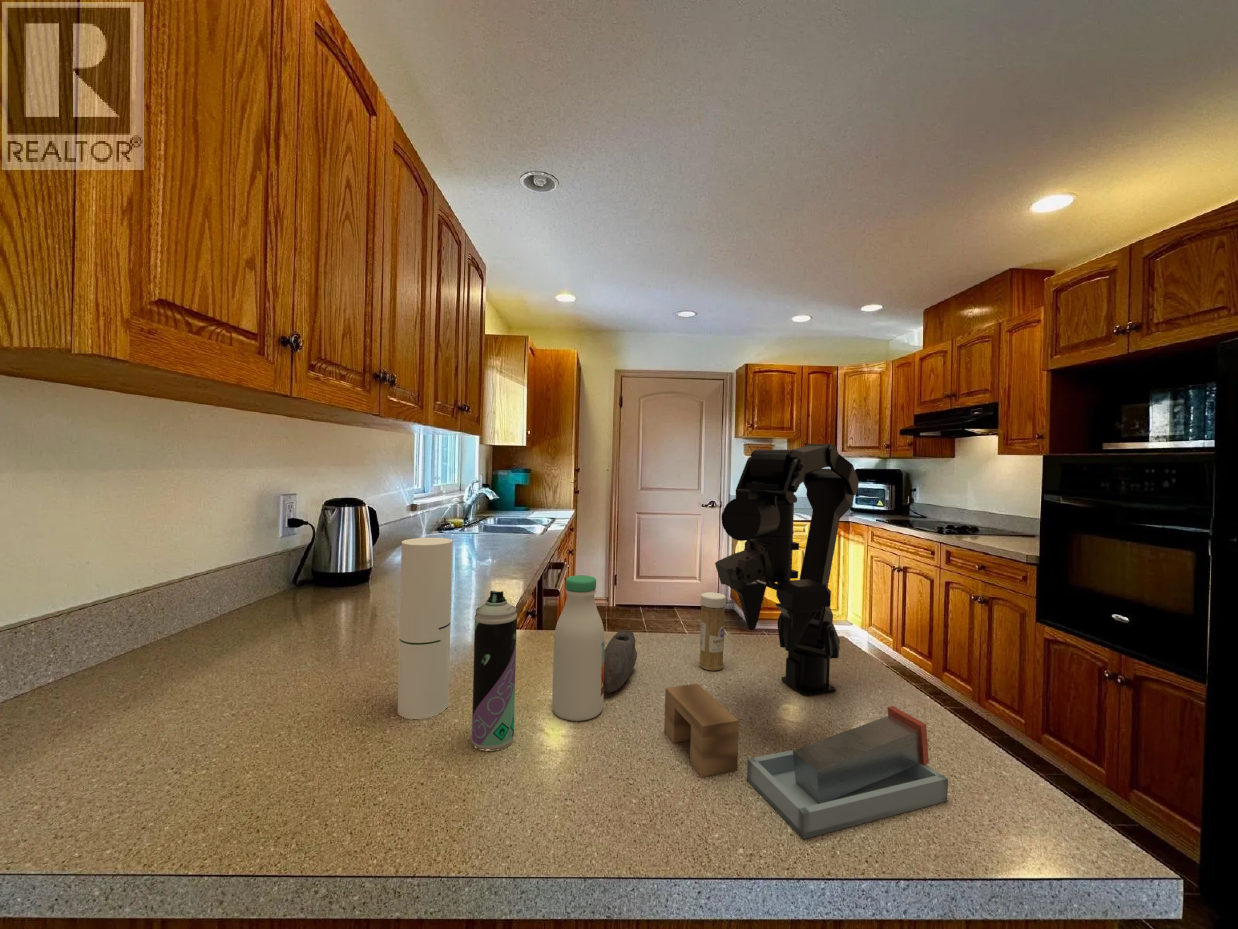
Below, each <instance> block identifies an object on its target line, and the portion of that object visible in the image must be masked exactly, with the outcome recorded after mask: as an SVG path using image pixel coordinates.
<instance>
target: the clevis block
mask: <svg viewBox="0 0 1238 929" xmlns="http://www.w3.org/2000/svg"><path fill="white" fill-rule="evenodd" d="M664 694H665V699H664V726H663V728H664V729H663V730H664V731H663V732H664V733H665V734H666V736H667V737H668V738H669V740H670V741H671V742H672V744H677V743H682V742H683V743H684V742H687V741H690V747H689V748H690V749H689V750H690V752H689V753H690V754H689V755H690V756H689V764H690V765H691V766H692V768H693V769H694V770H695V771H696V773H697V774H698V775H699V776H700V777H701V778H705V777H710V776H715V775H722V774H725V773H726V774H727V773H730V772H736V771H738V768H739V767H738V766H739V765H738V764H739V762H738V760H739V731H740V730H739V728H740V727H739V726H740V720H739V719H738V718H737V717H736V716H735V715H734V714H732V713H731V712H730V711H729V710H728V709H727V708H726V707H725V706H723V705H722V704H721V703H720V702H719V701H718V700H717V699H715V698H714V697H713V696H712V695H711V694H710V693H709V692H708V691H707V690H705V689H704V688H703V687H702V686H701V685H700V684H698V683H693V684H683V685H676V686H669V687H665V693H664Z"/></svg>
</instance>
